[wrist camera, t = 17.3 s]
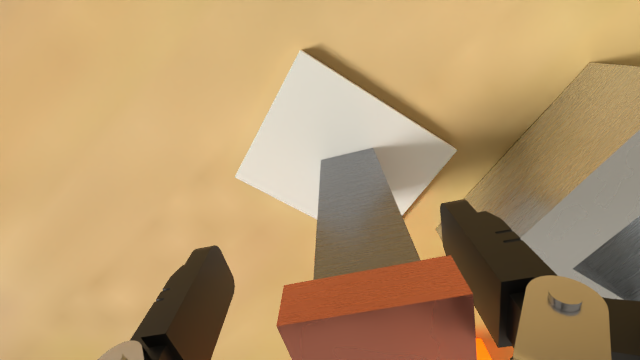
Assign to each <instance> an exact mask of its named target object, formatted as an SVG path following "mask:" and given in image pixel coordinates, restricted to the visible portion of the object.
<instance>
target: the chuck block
mask: <svg viewBox="0 0 640 360" xmlns="http://www.w3.org/2000/svg"><path fill="white" fill-rule="evenodd" d="M464 199H465V200H467V201H468V202H469V204H470V205H471V206H472V207H473V208H474V209H475V210H476V211H477V212H482V211H487V212H489V213H491V214H493V215H495V216H497V217H499V218H501V219H502V220H503V221H504V222H505V223H506V224H507V225H508V226H509V227H510V228H511V229H512V231H514V232H515V233H516V234H517V235H518V236H519V237H520V238H521V241H522V240H523V241H524V242H525V243H526V244H527V245H528V246H529V247H530V248H531V249H532V250H533V251H534V252H535V253H536V254H537V255H538V256H539V257H540V258H541V259H542V260H543V261H544V262H545V263H546V264H547V265H548V266H549V267H550V268H551V269H552V270H553V271H554V272H555V273H556V274H557V275H558V276H562V277H567V278H570V279H573V280H576V281H579V282H581V283H583V284H585V285H587V286H588V287H590V288H592V289H593V290H594V291H596V292H597V293H598V294H599V295H600V296H601V297H604V298H611V299H620V300H631V301H640V67H639V66H626V65H614V64H602V63H589V64H588V65H587V67H586V68H585V69H584V70H583V71H582V72H581V73H580V74H579V75H578V76H577V77H576V78H575V80H574V81H573V82H572V83H571V84H570V85H569V86H568V87H567V88H566V89H565V90H564V91H563V92H562V94H561V95H560V96H559V97H558V98H557V99H556V100H555V101H554V102H553V103H552V104H551V105H550V106H549V108H548V109H547V110H546V111H545V112H544V113H543V114H542V115H541V116H540V117H539V118H538V119H537V121H536V122H535V123H534V124H533V125H532V126H531V127H530V128H529V129H528V130H527V131H526V132H525V133H524V135H523V136H522V137H521V138H520V139H519V140H518V141H517V142H516V143H515V144H514V145H513V146H512V147H511V149H510V150H509V151H508V152H507V153H506V154H505V155H504V156H503V157H502V158H501V159H500V160H499V162H498V163H497V164H496V165H495V166H494V167H493V168H492V169H491V170H490V171H489V172H488V173H487V174H486V176H485V177H484V178H483V179H482V180H481V181H480V182H479V183H478V184H477V185H476V186H475V187H474V188H473V190H472V191H471V192H470V193H469V194H468V195H467V196H466V197H465V198H464ZM436 231H437V233H438V234H439V236H440V238H441V240H442V228H441V224H440V225H439V226H438V227H437V228H436Z"/></svg>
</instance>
